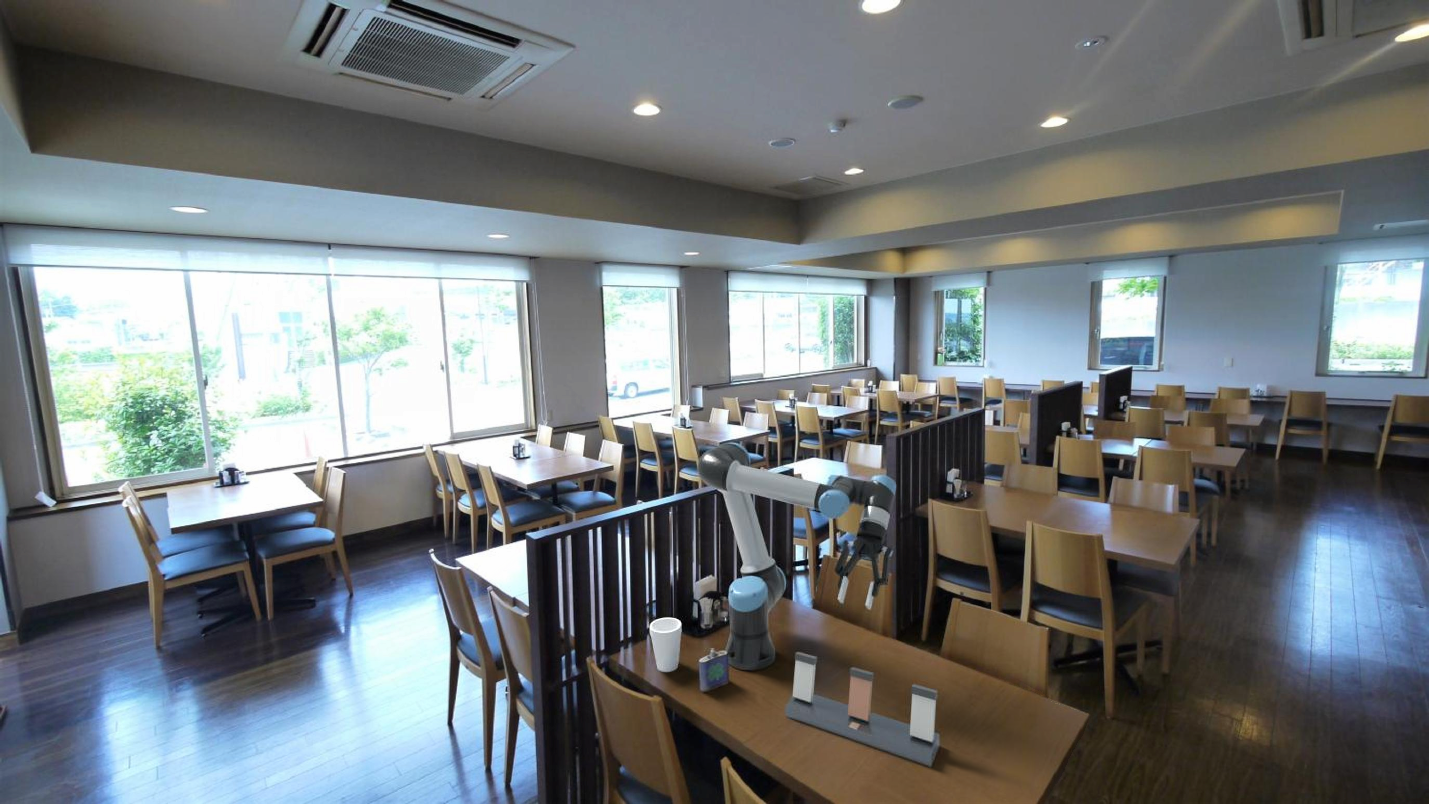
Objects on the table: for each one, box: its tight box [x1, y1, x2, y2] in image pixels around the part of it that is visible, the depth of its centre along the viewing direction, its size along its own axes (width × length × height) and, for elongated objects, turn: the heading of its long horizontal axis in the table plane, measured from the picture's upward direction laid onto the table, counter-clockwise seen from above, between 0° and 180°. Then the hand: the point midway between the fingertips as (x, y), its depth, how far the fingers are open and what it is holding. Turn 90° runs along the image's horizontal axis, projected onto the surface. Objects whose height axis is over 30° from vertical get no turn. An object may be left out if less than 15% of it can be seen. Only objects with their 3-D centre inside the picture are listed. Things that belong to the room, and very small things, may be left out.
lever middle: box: [848, 666, 875, 721], centre depth 145 cm, size 2×5×11 cm, turn 57°
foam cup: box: [649, 617, 683, 673], centre depth 176 cm, size 10×9×13 cm
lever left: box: [792, 651, 818, 702], centre depth 153 cm, size 2×5×11 cm, turn 57°
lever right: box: [909, 683, 938, 742], centre depth 137 cm, size 2×5×11 cm, turn 57°
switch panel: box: [784, 693, 940, 768], centre depth 144 cm, size 8×36×3 cm, turn 57°
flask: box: [698, 647, 730, 693], centre depth 165 cm, size 9×3×11 cm, turn 121°
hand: (853, 604), depth 154 cm, fingers open, 7 cm apart
